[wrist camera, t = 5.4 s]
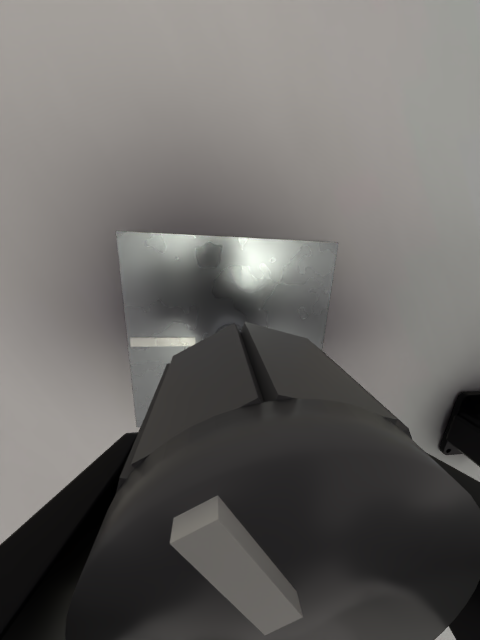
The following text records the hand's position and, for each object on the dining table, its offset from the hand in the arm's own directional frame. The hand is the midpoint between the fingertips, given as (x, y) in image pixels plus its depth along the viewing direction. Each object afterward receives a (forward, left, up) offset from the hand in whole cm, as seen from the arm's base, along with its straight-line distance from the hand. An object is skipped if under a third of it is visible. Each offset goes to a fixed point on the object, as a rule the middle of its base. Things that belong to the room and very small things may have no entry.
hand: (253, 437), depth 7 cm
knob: (0, 0, -1) cm, 1 cm away
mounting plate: (0, 0, -9) cm, 9 cm away
